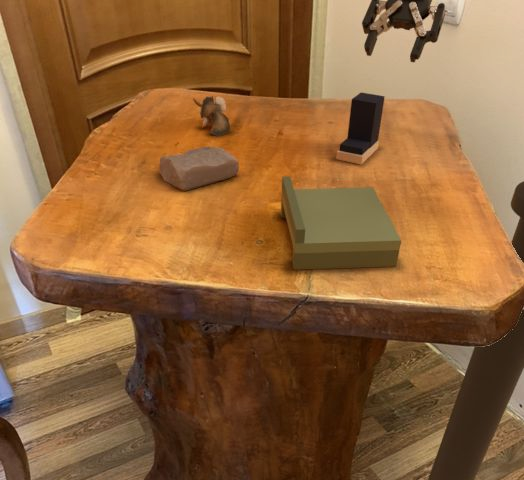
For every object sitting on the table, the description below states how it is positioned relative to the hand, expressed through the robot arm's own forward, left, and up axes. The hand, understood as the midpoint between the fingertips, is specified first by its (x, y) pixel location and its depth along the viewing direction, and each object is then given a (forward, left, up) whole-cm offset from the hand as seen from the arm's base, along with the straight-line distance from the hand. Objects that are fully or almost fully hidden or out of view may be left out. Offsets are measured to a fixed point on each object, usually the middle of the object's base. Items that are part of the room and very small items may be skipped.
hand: (389, 56), depth 103 cm
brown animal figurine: (+33, -5, -15) cm, 37 cm away
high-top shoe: (+6, +10, -14) cm, 18 cm away
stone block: (+36, +18, -15) cm, 43 cm away
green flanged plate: (+16, +41, -14) cm, 46 cm away
